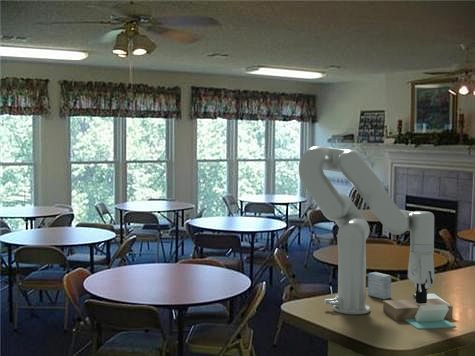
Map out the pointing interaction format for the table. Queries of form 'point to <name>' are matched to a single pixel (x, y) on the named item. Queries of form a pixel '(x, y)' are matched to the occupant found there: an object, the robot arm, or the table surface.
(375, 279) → the medicine box
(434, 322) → the mat
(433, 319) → the white box
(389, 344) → the table surface
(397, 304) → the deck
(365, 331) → the table surface
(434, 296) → the smartphone
